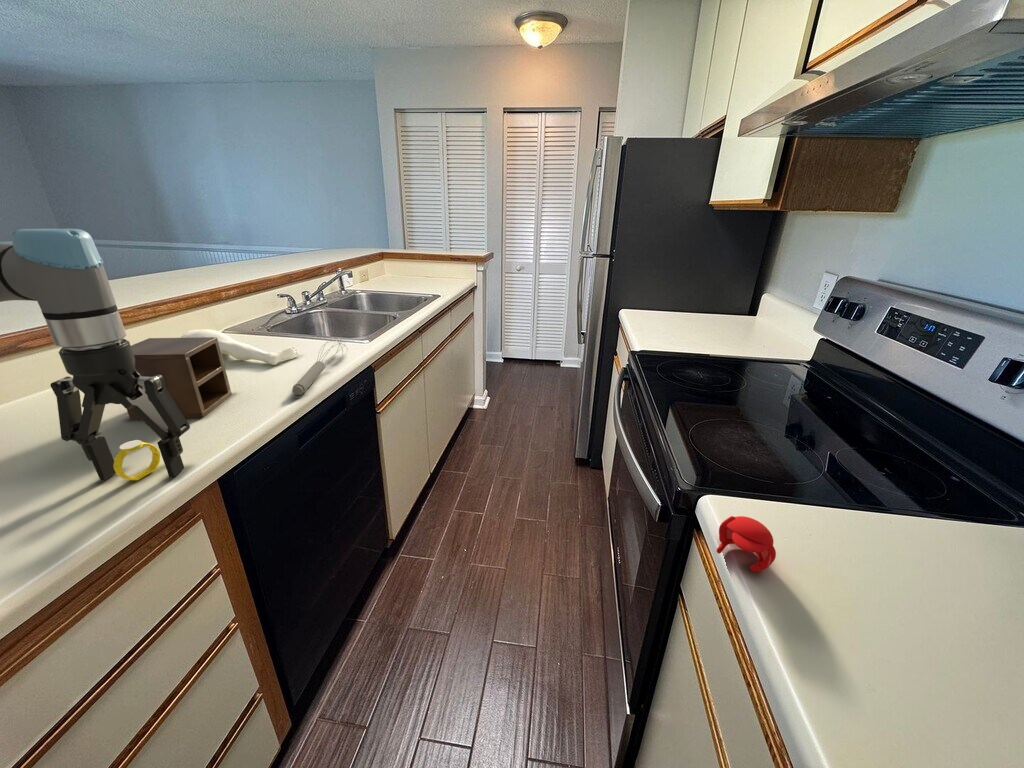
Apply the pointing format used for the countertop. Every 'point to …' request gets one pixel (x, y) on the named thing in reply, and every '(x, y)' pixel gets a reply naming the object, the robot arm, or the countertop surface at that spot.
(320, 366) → the kitchen whisk
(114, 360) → the robot arm
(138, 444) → the watch
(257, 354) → the leg
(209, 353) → the shelf
